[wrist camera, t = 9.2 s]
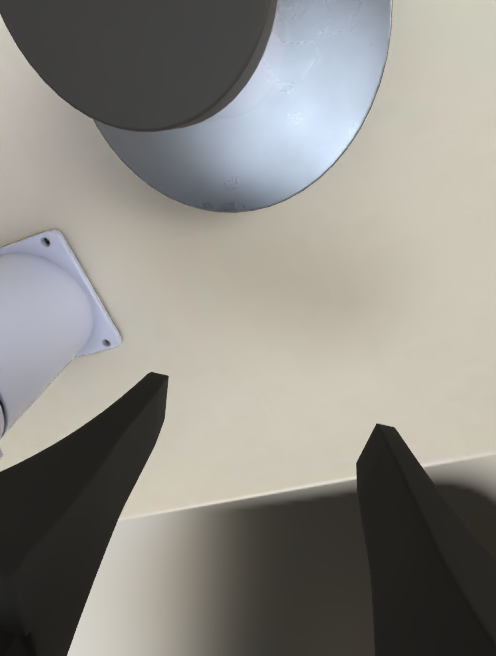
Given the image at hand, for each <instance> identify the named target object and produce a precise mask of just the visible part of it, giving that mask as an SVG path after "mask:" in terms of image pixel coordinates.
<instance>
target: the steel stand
mask: <svg viewBox="0 0 496 656" xmlns="http://www.w3.org/2000/svg"><path fill="white" fill-rule="evenodd" d="M282 1H283V9H284V16H285V24H286V36H287V40H286V53H285V60H284V63H283V67H282V71H281V73H280V76H279V79H278V81H277V83H276V85H275V86H274V88H273V90H272V91H271V93H270V94H269V96H268V97H267V98H266V99H265V100H264V101H263V102H262V103H261V104H260V105H259V106H258V107H257V108H255V109H254V110H252V111H251V112H249V113H247V114H245V115H243V116H241V117H238V118H234V119H228V120H220V121H212V122H205V123H198V124H195V125H191V126H188V127H184V128H178V129H171V130H165V131H158V132H134V131H128V130H121V129H118V128H115V127H112V126H108V125H105V124H103V123H101V122H99V121H96V120H94V119H93V120H94V122H95V124H96V125H97V127H98V129H99V130H100V132H101V133H102V135H103V137H104V138H105V140H106V141H107V143H108V144H109V146H110V147H111V148H112V149H113V150H114V152H115V153H116V154H117V155H118V156H119V158H120V159H121V160H122V161H123V162H124V163H125V164H126V165H127V166H128V167H129V168H130V169H131V170H132V171H133V172H134V173H135V174H136V175H137V176H138V177H139V178H141V179H142V180H143V181H145V182H146V183H147V184H148V185H150V186H151V187H152V188H154V189H156V190H157V191H159V192H161V193H162V194H164V195H166V196H167V197H169V198H171V199H174V200H176V201H178V202H180V203H183V204H185V205H188V206H192V207H195V208H198V209H202V210H208V211H214V212H231V213H237V212H246V211H254V210H258V209H262V208H266V207H270V206H272V205H275V204H277V203H280V202H282V201H285V200H287V199H289V198H291V197H293V196H294V195H296V194H298V193H300V192H302V191H303V190H305V189H306V188H307V187H309V186H310V185H311V184H313V183H314V182H315V181H317V180H318V179H319V178H320V177H322V176H323V175H324V174H325V173H326V172H327V171H328V170H329V169H330V168H331V167H332V166H333V165H334V164H335V163H336V162H337V160H338V159H339V158H340V157H341V156H342V154H343V153H344V152H345V151H346V150H347V148H348V147H349V145H350V144H351V142H352V141H353V139H354V138H355V136H356V135H357V133H358V132H359V130H360V129H361V127H362V125H363V123H364V121H365V119H366V117H367V115H368V113H369V111H370V109H371V107H372V104H373V101H374V99H375V96H376V93H377V91H378V88H379V86H380V83H381V79H382V75H383V71H384V67H385V63H386V60H387V54H388V48H389V41H390V35H391V23H392V0H282Z"/></svg>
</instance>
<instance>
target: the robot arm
mask: <svg viewBox="0 0 496 656" xmlns="http://www.w3.org/2000/svg"><path fill="white" fill-rule="evenodd" d="M45 238H47V239H48V240H49V242H50V244H48V243H47V242H46V241H45ZM105 340H108V341H109V342H110V343H107V342H106V341H105ZM121 343H122V337H121V336H120V334H119V332H118V330H117V329H116V327H115V325H114V323H113V322H112V320H111V318H110V316H109V315H108V313H107V311H106V309H105V308H104V306H103V304H102V302H101V301H100V299H99V297H98V295H97V294H96V292H95V290H94V288H93V287H92V285H91V283H90V281H89V280H88V278H87V276H86V274H85V273H84V271H83V269H82V267H81V266H80V264H79V262H78V261H77V259H76V257H75V255H74V254H73V252H72V250H71V248H70V247H69V245H68V243H67V241H66V240H65V238H64V236H63V235H62V233H61V232H60V231H58V230H56V229H51V230H48V231H45V232H43V233H40V234H37V235H34V236H32V237H29V238H26V239H23V240H21V241H18V242H15V243H12V244H10V245H7V246H4V247H1V248H0V439H1V438H2V437H3V436H4V434H5V433H6V432H7V431H8V430H9V429H10V428H11V427H12V426H13V425H14V423H15V422H16V421H17V420H18V419H19V418H20V417H21V416H22V415H23V413H24V412H25V411H26V410H27V409H28V408H29V407H30V406H31V405H32V403H33V402H34V401H35V400H36V399H37V398H38V397H39V396H40V395H41V393H42V392H43V391H44V390H45V389H46V388H47V387H48V386H49V385H50V383H51V382H52V381H53V380H54V379H55V378H56V377H57V376H58V375H59V374H60V372H61V371H62V370H63V369H64V368H65V367H66V366H67V365H68V364H69V362H70V361H71V360H72V359H73V358H76V357H80V356H84V355H88V354H92V353H96V352H100V351H104V350H108V349H112V348H116V347H118V346H119V345H120V344H121ZM168 377H169V376H167V375H162V374H158V373H154V372H150V373H148V374H147V375H146V376H145V377H144V378H143V379H142V380H141V381H139V382H138V383H137V384H136V385H135V386H134V387H133V388H131V389H130V390H129V391H128V392H127V393H126V394H124V395H123V396H122V397H121V398H120V399H118V400H117V401H116V402H114V403H113V404H112V405H111V406H109V407H108V408H107V409H106V410H104V411H103V412H102V413H100V414H99V415H98V416H96V417H95V418H93V419H92V420H91V421H89V422H88V423H86V424H85V425H84V426H82V427H81V428H79V429H78V430H76V431H75V432H73V433H71V434H70V435H68V436H67V437H65V438H63V439H62V440H60V441H59V442H57V443H55V444H54V445H52V446H50V447H48V448H46V449H45V450H43V451H41V452H39V453H37V454H36V455H34V456H32V457H30V458H28V459H26V460H24V461H22V462H20V463H18V464H16V465H14V466H12V467H10V468H8V469H5V470H3V471H1V472H0V656H67V654H68V651H69V648H70V645H71V642H72V640H73V636H74V634H75V631H76V628H77V625H78V622H79V620H80V617H81V614H82V612H83V609H84V606H85V603H86V601H87V598H88V595H89V593H90V590H91V587H92V585H93V582H94V579H95V577H96V574H97V571H98V569H99V566H100V564H101V561H102V559H103V556H104V553H105V551H106V548H107V546H108V543H109V541H110V538H111V536H112V533H113V531H114V528H115V526H116V523H117V521H118V518H119V516H120V514H121V512H122V510H123V507H124V505H125V503H126V501H127V499H128V497H129V495H130V493H131V491H132V489H133V488H134V486H135V484H136V482H137V480H138V478H139V476H140V474H141V472H142V470H143V468H144V466H145V464H146V462H147V460H148V458H149V456H150V454H151V452H152V450H153V448H154V446H155V444H156V441H157V438H158V436H159V433H160V430H161V428H162V425H163V422H164V419H165V409H166V398H167V388H168ZM2 456H3V453H2V451H1V449H0V458H1V457H2ZM356 469H357V493H358V500H359V506H360V513H361V519H362V524H363V531H364V536H365V543H366V549H367V555H368V561H369V569H370V576H371V590H372V604H373V621H374V642H375V656H496V557H495V556H494V555H493V554H492V553H491V552H490V551H489V550H488V549H487V548H486V546H485V545H484V544H483V543H482V542H481V541H480V540H479V538H478V537H477V536H476V535H475V534H474V533H473V532H472V531H471V530H470V529H469V527H468V526H467V525H466V524H465V523H464V522H463V520H462V519H461V518H460V517H459V515H458V514H457V513H456V512H455V510H454V509H453V508H452V507H451V505H450V504H449V503H448V502H447V500H446V499H445V498H444V497H443V495H442V494H441V493H440V491H439V490H438V489H437V488H436V486H435V485H434V483H433V482H432V481H431V479H430V478H429V476H428V475H427V474H426V472H425V471H424V469H423V468H422V466H421V465H420V464H419V462H418V461H417V459H416V458H415V456H414V455H413V453H412V452H411V451H410V449H409V448H408V446H407V445H406V443H405V442H404V440H403V439H402V437H401V436H400V434H399V433H398V432H397V430H396V429H395V427H390V426H386V425H381V424H376V426H375V428H374V430H373V432H372V434H371V435H370V437H369V439H368V441H367V443H366V445H365V447H364V449H363V451H362V453H361V455H360V457H359V459H358V461H357V463H356Z"/></svg>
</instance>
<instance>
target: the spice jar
mask: <svg viewBox="0 0 496 656" xmlns="http://www.w3.org/2000/svg"><path fill="white" fill-rule="evenodd" d="M0 14H1V16H2V18H3V20H4V23H5V25H6V27H7V29H8V30H9V32H10V34H11V36H12V37H13V39H14V41H15V43H16V44H17V46H18V48H19V49H20V51H21V52H22V53H23V55H24V56H25V58H26V59H27V61H28V62H29V64H30V65H31V66H32V67H33V68H34V70H35V71H36V72H37V73H38V74H39V76H40V77H41V78H42V79H43V80H44V82H45V83H46V84H47V85H49V86H50V87H51V88H52V89H53V90H54V91H55V92H56V93H57V94H58V95H59V96H60V97H61V98H62V99H64V100H65V101H66V102H68V103H69V104H70V105H71V106H73V107H74V108H75V109H77V110H79V111H80V112H82V113H83V114H85V115H87V116H88V117H90V118H92V119H94V120H96V121H99V122H101V123H103V124H105V125H108V126H112V127H115V128H118V129H121V130H128V131H134V132H158V131H165V130H171V129H178V128H184V127H188V126H191V125H195V124H198V123H205V122H212V121H220V120H228V119H234V118H238V117H241V116H243V115H245V114H247V113H249V112H251V111H252V110H254V109H255V108H257V107H258V106H259V105H260V104H261V103H262V102H263V101H264V100H265V99H266V98H267V97H268V96H269V94H270V93H271V91H272V90H273V88H274V86H275V85H276V83H277V81H278V79H279V76H280V73H281V71H282V67H283V63H284V60H285V53H286V40H287V36H286V24H285V16H284V9H283V1H282V0H0Z"/></svg>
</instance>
